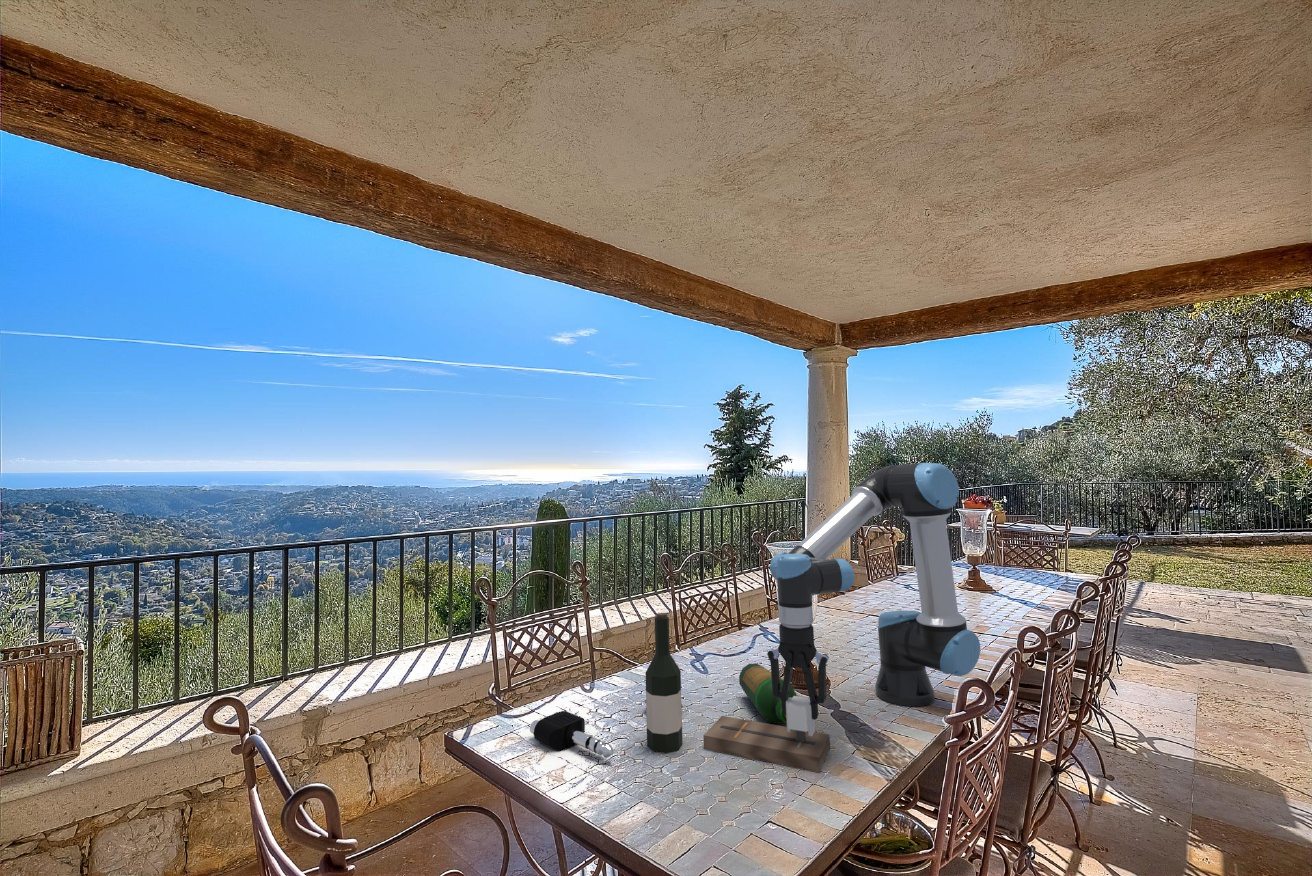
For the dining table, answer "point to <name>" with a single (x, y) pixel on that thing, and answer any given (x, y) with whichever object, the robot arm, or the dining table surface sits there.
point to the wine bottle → (663, 694)
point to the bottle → (763, 692)
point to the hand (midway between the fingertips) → (800, 731)
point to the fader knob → (798, 716)
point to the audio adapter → (567, 733)
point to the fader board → (767, 743)
